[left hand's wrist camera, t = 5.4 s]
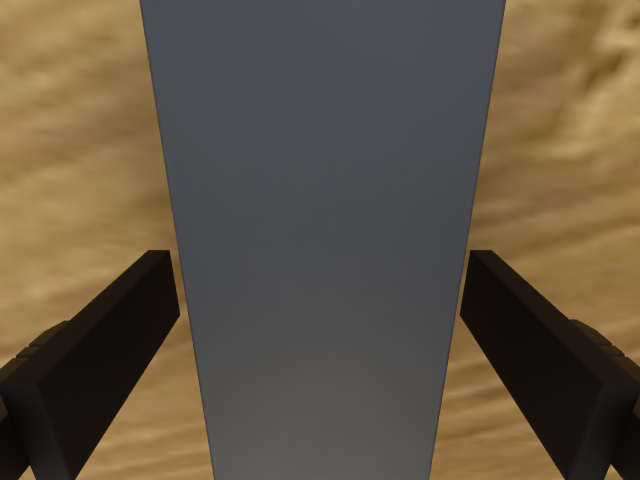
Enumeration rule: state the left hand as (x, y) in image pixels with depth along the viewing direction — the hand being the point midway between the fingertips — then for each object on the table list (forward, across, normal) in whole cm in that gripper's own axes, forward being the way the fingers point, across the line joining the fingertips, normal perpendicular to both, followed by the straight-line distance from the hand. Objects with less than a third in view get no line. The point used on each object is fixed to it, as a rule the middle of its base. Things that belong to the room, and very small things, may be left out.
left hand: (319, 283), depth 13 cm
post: (+2, 0, -23) cm, 23 cm away
